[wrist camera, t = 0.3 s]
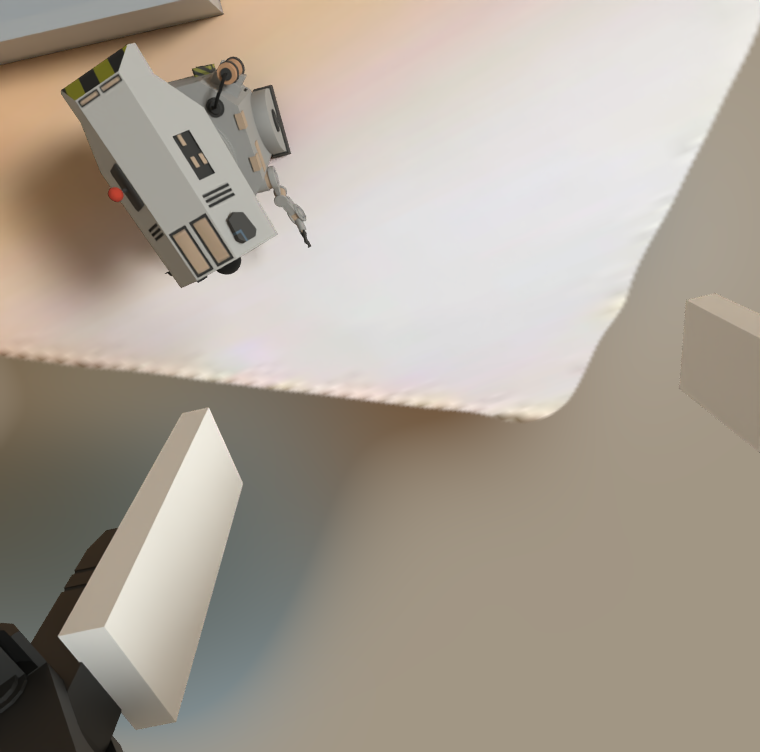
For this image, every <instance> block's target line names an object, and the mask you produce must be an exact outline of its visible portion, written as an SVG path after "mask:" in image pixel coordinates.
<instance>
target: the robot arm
mask: <svg viewBox="0 0 760 752" xmlns="http://www.w3.org/2000/svg"><path fill="white" fill-rule="evenodd" d="M679 389H680V390H682V391H683V392H684V393H685V394H687V395H688V396H689V397H690V398H691V399H693V400H694V401H695V402H697V403H698V404H699V405H700V406H702V407H703V408H704V409H705V410H707V411H708V412H709V413H710V414H712V415H713V416H714V417H715V418H717V419H718V420H719V421H720V422H722V423H723V424H724V425H725V426H727V427H728V428H729V429H730V430H732V431H733V432H734V433H736V434H737V435H738V436H739V437H740V438H742V439H743V440H744V441H745V442H747V443H748V444H749V445H750V446H752V447H753V448H754V449H755V450H757V451H758V452H759V453H760V314H759V313H756V312H754V311H752V310H750V309H748V308H745V307H743V306H742V305H739V304H737V303H735V302H733V301H731V300H729V299H726V298H724V297H722V296H720V295H718V294H716V293H714V294H710V295H706V296H701V297H697V298H692V299H688V300H686V308H685V320H684V333H683V346H682V358H681V372H680V385H679ZM242 485H243V483H242V481H241V478H240V476H239V474H238V472H237V469H236V467H235V465H234V463H233V460H232V458H231V456H230V454H229V452H228V449H227V447H226V445H225V443H224V440H223V438H222V436H221V434H220V431H219V429H218V427H217V425H216V423H215V420H214V418H213V416H212V414H211V411H210V409H209V408H204V409H200V410H195V411H190V412H186V413H182V414H181V416H180V418H179V420H178V422H177V423H176V425H175V427H174V429H173V431H172V432H171V434H170V436H169V438H168V439H167V442H166V443H165V445H164V447H163V449H162V450H161V452H160V454H159V456H158V457H157V459H156V461H155V463H154V465H153V466H152V469H151V470H150V472H149V474H148V475H147V477H146V479H145V481H144V483H143V484H142V486H141V488H140V490H139V492H138V493H137V495H136V497H135V499H134V500H133V502H132V504H131V506H130V508H129V509H128V511H127V513H126V515H125V517H124V519H123V520H122V522H121V524H120V526H119V527H118V528H115V529H111V530H106V531H105V532H104V533H103V534H102V535H101V536H100V537H99V538H98V539H97V540H96V541H95V542H94V543H93V544H92V545H91V546H90V548H89V549H87V551H86V553H85V554H84V556H83V557H82V559H81V561H80V563H79V564H78V566H77V568H76V569H75V574H74V575H72V576H71V577H70V579H69V581H68V582H67V584H66V586H65V588H64V589H65V591H64V592H62V593H61V594H60V596H59V597H58V599H57V601H56V602H55V604H54V606H53V607H52V609H51V611H50V612H49V614H48V616H47V617H46V619H45V621H44V622H43V624H42V626H41V627H40V629H39V631H38V632H37V634H36V636H35V637H34V639H33V641H32V642H31V643H30V642H29V641H28V640H27V639H26V638H25V637H24V635H23V634H22V633H21V632H20V631H19V630H18V629H17V628H16V626H15V625H14V624H7V623H0V752H123V750H122V748H121V746H120V744H119V743H118V742H117V740H116V739H115V738H114V737H113V736H112V735H113V732H114V730H115V727H116V724H117V721H118V719H119V717H120V714H121V713H122V714H123V715H124V716H125V718H126V719H127V720H128V721H129V722H130V724H131V725H132V726H133V727H134V728H135V729H136V730H137V729H142V728H147V727H152V726H157V725H163V724H168V723H172V722H176V720H177V716H178V713H179V709H180V706H181V702H182V699H183V695H184V691H185V688H186V684H187V681H188V677H189V674H190V670H191V667H192V663H193V659H194V656H195V652H196V649H197V645H198V642H199V638H200V634H201V631H202V627H203V624H204V620H205V617H206V613H207V609H208V606H209V603H210V599H211V595H212V592H213V588H214V585H215V581H216V577H217V574H218V571H219V567H220V563H221V560H222V556H223V553H224V549H225V546H226V542H227V538H228V535H229V531H230V527H231V524H232V521H233V517H234V514H235V510H236V506H237V503H238V499H239V496H240V492H241V488H242Z"/></svg>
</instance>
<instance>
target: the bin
mask: <svg viewBox="0 0 760 752" xmlns="http://www.w3.org/2000/svg"><path fill="white" fill-rule="evenodd" d="M222 14H224V13H223V10H222V6H221V3H220V0H0V65H3V64H7V63H11V62H16V61H20V60H25V59H29V58H33V57H38V56H42V55H47V54H51V53H55V52H60V51H64V50H68V49H73V48H77V47H82V46H86V45H90V44H95V43H99V42H104V41H108V40H112V39H117V38H121V37H125V36H130V35H134V34H139V33H143V32H147V31H152V30H156V29H161V28H165V27H169V26H174V25H178V24H183V23H187V22H191V21H196V20H200V19H204V18H209V17H213V16H218V15H222Z"/></svg>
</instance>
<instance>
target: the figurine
mask: <svg viewBox="0 0 760 752" xmlns="http://www.w3.org/2000/svg"><path fill="white" fill-rule="evenodd" d="M192 71H193V74H194V76H191V77H187V78H183V79H179V80H176V81H172V82H168V83H167V82H165V81H164V80H162V79H161V78H159V77H158V76H156V75H155V74H154V73H153V71H152V70H151V68H150V66H149V65H148V63H147V61H146V60H145V58H144V57H143V55H142V53H141V52H140V50H139V48H138V47H137V45H136V43H132V44H127V45H126V46H124V47H123V48H121V49H120V50H119V51H117V52H116V53H114V54H113V55H111V56H110V57H108V58H107V59H106V60H104V61H103V62H101V63H100V64H98V65H97V66H96V67H94V68H93V69H91V70H90V71H88V72H87V73H85V74H84V75H83V76H81V77H80V78H78V79H77V80H75V81H74V82H72V83H71V84H70V85H68V86H67V87H65V88H64V89H62V90H61V95H62V96H63V98H64V99H65V100H66V102H67V103H68V105H69V106H70V108H71V109H72V111H73V112H74V114H75V115H76V117H77V118H78V119H79V121H80V122H81V125H82V127H83V130H84V132H85V135H86V137H87V140H88V142H89V145H90V147H91V150H92V152H93V155H94V157H95V160H96V162H97V165H98V167H99V170H100V172H101V174H102V175H103V177H104V178H105V180H106V181H107V182H108V184H109V185H110V187H111V188H110V189H109V191H108V196H109V198H110V199H111V200H113V201H115V202H119V201H121V203H122V204H123V205H124V207H125V208H126V210H127V211H128V213H129V214H130V216H131V217H132V218H133V220H134V221H135V223H136V224H137V226H138V227H139V228H140V230H141V231H142V233H143V234H144V236H145V237H146V239H147V240H148V241H149V243H150V244H151V246H152V247H153V249H154V250H155V251H156V253H157V254H158V256H159V257H160V259H161V260H162V262H163V263H164V264H165V266H166V267H167V269H168V270H169V272H167V273H168V274H169V275H170V276H173V277H174V279H175V280H176V282H177V283H178V285H179V286H180V287H181V288H182V287H185V286H187V285H189V284H191V283H194V282H196V281H197V282H198V283H199V282H200V281H202V280H204V279H205V278H207V275H209V274H211V273H213V272H214V271H217V272H219V273H221V274H232V273H234V272H236V271H237V270H238V268H239V267H240V264H241V256H243V255H244V254H246V253H248V252H249V251H251V250H253V249H254V248H256V247H258V246H259V245H261V244H263V243H264V242H266V241H267V240H269V239H271V238H272V237H274V236H276V235H277V232H276V230H275V229H274V227H273V225H272V223H271V222H270V220H269V218H268V217H267V215H266V213H265V212H264V210H263V208H262V206H261V205H260V203H259V201H258V200H257V198H256V194H257V193H260V192H265V191H269V190H270V189H272V188H273V189H274V195H275V198H274V203H275V204H276V205H277V206H278V207H283V208H284V210H285V211H286V212H287V214H288V216H289V218H290V219H291V221H292V222H293V223H294V224H296V225H297V227H298V229H299V231H300V234H301V235H302V236H303V238H304V242H305V243H306V244H307V245H308V248H309V247H311V245H310V243H309V241H308V240H307V235H306V232H305V230H306V227H305V225H304V223H303V221H306V215H305V213H304V212H303V210H302V209H301V208H300V207H299V206H298V205H297V204H294V203H293V201H292V200H291V199H290V197H288V196H286V194H287V190H286V188H285V187H283V186H280V185H279V180H278V176H277V173H276V170H275V168H274V167H273V166H270V167H268V164H269V161H270V158H271V154H272V157H274V158H276V157H280V156H284V155H288V154H291V152H290V148H289V145H288V141H287V137H286V134H285V130H284V126H283V123H282V119H281V116H280V112H279V108H278V105H277V101H276V97H275V94H274V90H273V86H272V85H269V86H265V87H262V88H258V89H254V90H253V92H251V90H250V89H248V88H247V87H245V86H244V85H242V84H243V82H244V80H245V77H246V75H245V74H244V71H245V70H244V65H243V63H242V61H241V60H240V59H238V58H237V57H230V58H228V59H227V60H226V61H225V60H222V61H221V63H220V65H219V67H218V69H217V70H215V66H214V64H210V65H206V66H199V67H196V68H193V69H192ZM237 80H238V81H237ZM167 273H165V274H167Z"/></svg>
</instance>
